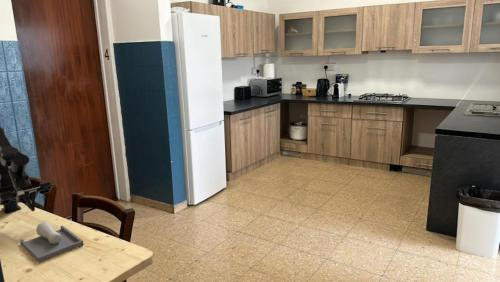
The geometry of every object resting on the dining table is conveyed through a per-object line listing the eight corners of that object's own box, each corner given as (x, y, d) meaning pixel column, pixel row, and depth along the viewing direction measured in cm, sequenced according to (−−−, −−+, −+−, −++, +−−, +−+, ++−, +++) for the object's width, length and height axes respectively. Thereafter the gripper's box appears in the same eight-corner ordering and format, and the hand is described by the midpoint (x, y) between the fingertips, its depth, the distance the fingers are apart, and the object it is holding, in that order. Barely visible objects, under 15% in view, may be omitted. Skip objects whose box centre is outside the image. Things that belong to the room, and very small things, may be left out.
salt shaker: (39, 217, 144) (54, 230, 136) (52, 221, 148) (67, 234, 140) (31, 231, 143) (45, 245, 135) (44, 235, 147) (58, 248, 139)
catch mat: (20, 244, 139) (19, 239, 139) (63, 229, 150) (62, 225, 150) (39, 262, 127) (38, 258, 127) (83, 245, 138) (83, 240, 138)
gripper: (41, 181, 163) (54, 211, 158) (-9, 193, 149) (4, 227, 145) (45, 168, 155) (59, 200, 151) (-6, 180, 142) (7, 215, 138)
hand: (33, 210), depth 146 cm, fingers closed
